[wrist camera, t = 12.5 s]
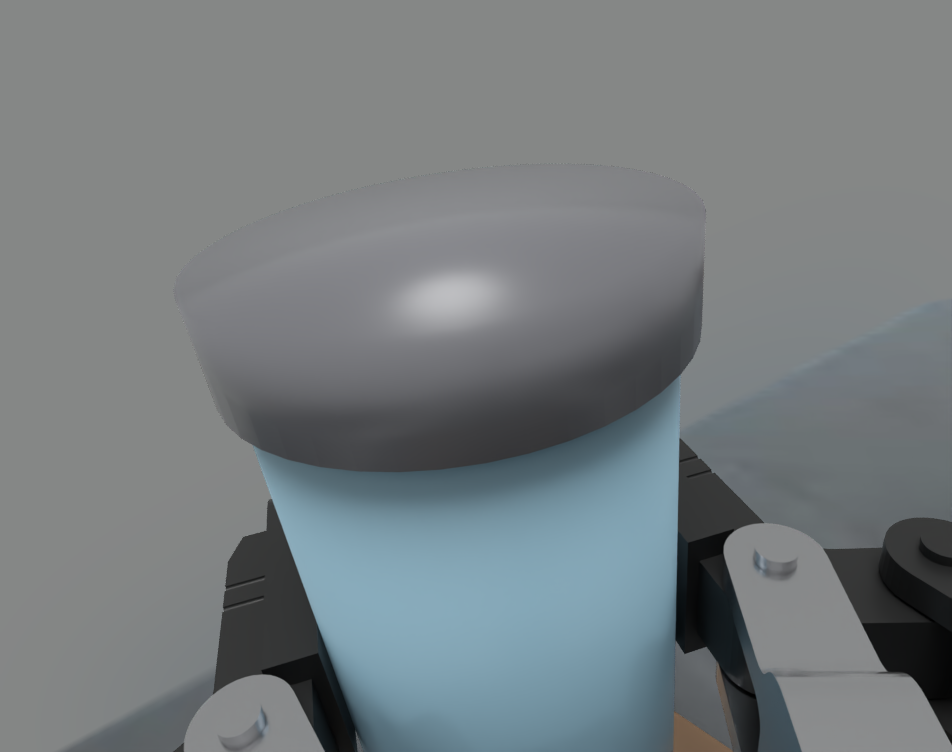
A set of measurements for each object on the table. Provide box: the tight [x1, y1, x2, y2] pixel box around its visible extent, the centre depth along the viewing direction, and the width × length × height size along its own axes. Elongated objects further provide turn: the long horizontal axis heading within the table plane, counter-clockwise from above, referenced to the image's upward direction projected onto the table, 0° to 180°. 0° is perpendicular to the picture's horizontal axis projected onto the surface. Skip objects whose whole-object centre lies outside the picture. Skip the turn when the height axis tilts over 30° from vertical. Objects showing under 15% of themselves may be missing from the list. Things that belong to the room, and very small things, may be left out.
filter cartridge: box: [173, 164, 706, 752], centre depth 10 cm, size 5×5×14 cm
